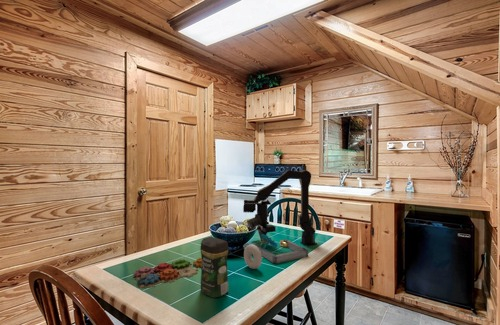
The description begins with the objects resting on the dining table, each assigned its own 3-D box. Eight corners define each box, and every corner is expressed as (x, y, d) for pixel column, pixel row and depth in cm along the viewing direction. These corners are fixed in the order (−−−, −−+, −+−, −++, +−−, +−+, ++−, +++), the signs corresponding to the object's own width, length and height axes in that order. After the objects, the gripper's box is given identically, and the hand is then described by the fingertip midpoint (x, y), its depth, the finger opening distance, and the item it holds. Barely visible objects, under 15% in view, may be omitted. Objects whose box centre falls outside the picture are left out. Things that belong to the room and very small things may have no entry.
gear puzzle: (204, 258, 123) (204, 249, 123) (219, 270, 109) (219, 260, 109) (132, 274, 105) (132, 264, 105) (140, 291, 92) (140, 280, 92)
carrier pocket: (288, 246, 137) (288, 240, 137) (308, 256, 124) (308, 249, 124) (256, 252, 128) (256, 246, 128) (274, 263, 115) (274, 257, 115)
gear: (281, 246, 133) (268, 233, 130) (275, 256, 130) (261, 243, 128) (270, 243, 142) (258, 231, 140) (264, 252, 140) (251, 240, 138)
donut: (263, 270, 108) (263, 246, 107) (257, 273, 105) (257, 248, 105) (248, 263, 115) (248, 240, 115) (242, 265, 113) (242, 242, 113)
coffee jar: (196, 291, 91) (196, 238, 91) (214, 283, 97) (213, 233, 97) (214, 301, 85) (214, 244, 84) (232, 292, 90) (232, 238, 90)
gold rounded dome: (286, 243, 143) (286, 237, 143) (293, 246, 138) (293, 240, 138) (277, 244, 140) (277, 239, 140) (284, 248, 135) (284, 242, 135)
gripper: (241, 210, 147) (241, 238, 147) (257, 217, 130) (257, 248, 131) (258, 209, 152) (258, 235, 152) (276, 215, 136) (276, 245, 136)
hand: (262, 241), depth 143 cm, fingers closed
